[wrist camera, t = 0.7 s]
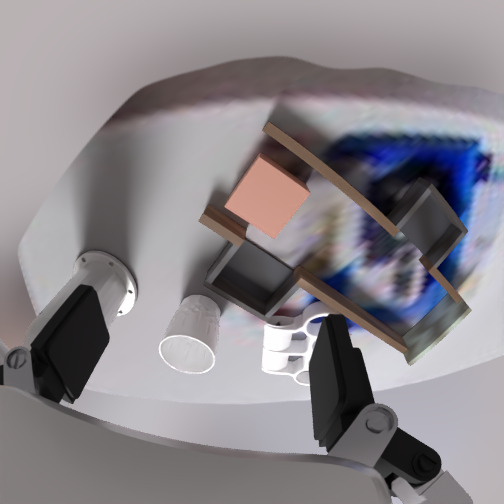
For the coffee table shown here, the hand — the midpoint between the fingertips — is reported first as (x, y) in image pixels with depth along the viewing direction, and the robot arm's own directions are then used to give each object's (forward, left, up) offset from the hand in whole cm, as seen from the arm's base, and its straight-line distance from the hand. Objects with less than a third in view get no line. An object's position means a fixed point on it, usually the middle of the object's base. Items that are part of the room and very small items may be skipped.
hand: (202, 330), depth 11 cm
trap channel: (0, -19, -27) cm, 33 cm away
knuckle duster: (-17, -24, -28) cm, 41 cm away
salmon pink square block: (0, -3, -28) cm, 28 cm away
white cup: (-22, -6, -28) cm, 36 cm away
